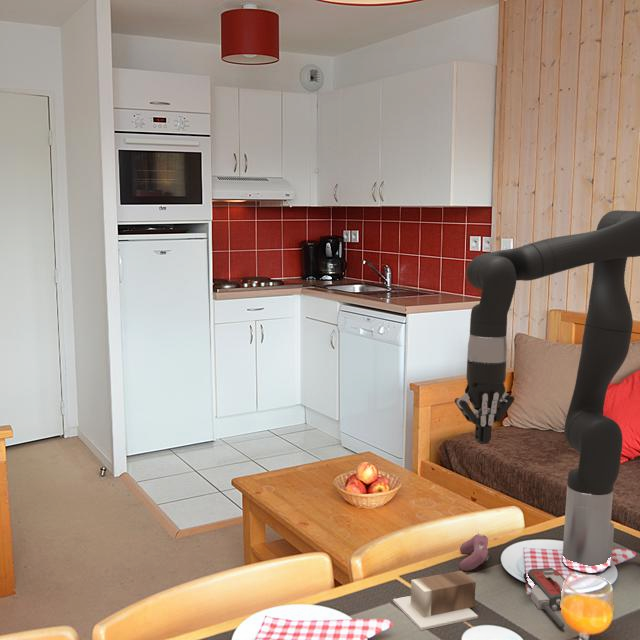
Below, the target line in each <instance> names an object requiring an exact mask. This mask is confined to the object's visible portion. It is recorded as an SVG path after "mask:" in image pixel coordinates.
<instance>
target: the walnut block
mask: <svg viewBox="0 0 640 640" xmlns="http://www.w3.org/2000/svg"><path fill="white" fill-rule="evenodd" d="M476 583H477V582H476V581H475V580H474V579H472V578H471V577H470V576H469V575H468V574H467V573H466V572H465V571H463V570H457V571H452V572H446V573H442V574H441V573H440V574H435V575H429V576H425V577H420V578H415V579H411V583H410V596H411V605H412V606H413V607H414V608H415V609H416V610H417V611H418V612H419V613H420V614H421V615H422V616H423V617H428V616H433V615H437V614H442V613H447V612H452V611H457V610H462V609H466V608H470V609H471V608H475V606H476V605H475V604H476V603H475V602H476V601H475V600H476V588H477V585H476Z"/></svg>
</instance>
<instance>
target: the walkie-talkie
mask: <svg viewBox="0 0 640 640" xmlns="http://www.w3.org/2000/svg"><path fill="white" fill-rule="evenodd" d="M526 573H528V576H529V578H530V579H531V580H532V581H533V582H534V584H535V585H534V587H533V588H532V589H531V590H530V592H531V593H530V600H531V601H532V602H533V603H534V605H535V606H536V608H537V609H538V610H544V611H545V612H546V613H547V614H548V615H549V616H550V617H551V619H552V620H553V621H554V622H556V623H557V625H558V626H559V627H560V628H562V629H563V628H565V626H566V625H565V623H564V622H563V621H562V619H561V618H560V617H559V616H558V615H557V614H556V612H555V611H557V610H561V609H560V601H561V591H562V585H563V582H564V580H565V579H566V578H565V577H564V576H563V575H562V574H561V573H560V572H559V571H558V570H556V569H554V568H552V567H544V568H531V569H530V570H528V572H525V573H523V579H524V580H525V579H527V578H528V577H526Z"/></svg>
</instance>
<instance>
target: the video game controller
mask: <svg viewBox="0 0 640 640" xmlns="http://www.w3.org/2000/svg"><path fill="white" fill-rule="evenodd" d="M488 546H489V538H488V537H487V536H486V535H484V534H480V533H479V532H478V533H477V534H475V535H474V536H473V537H472V538H470V539H468V540H467V541H465V542H463V543H462V544H461V545H460V548H459V552H460V553H461V554H464V555H467V554H470V555H468V556H467V557H465V558H464V559H462V560H461V561H460V562H459V565H458V566H459V567H458V568H459V569H460V571H463V572H467V571H472V570H473V569H476V568H477V567H479V566H480V565H482V564H483V563H484V562H486V561H488V560H489V555H488V553H489V549H488Z"/></svg>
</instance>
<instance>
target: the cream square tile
mask: <svg viewBox="0 0 640 640" xmlns="http://www.w3.org/2000/svg"><path fill="white" fill-rule="evenodd" d="M392 603H394V604H395V606H397V607H398V609H399V610H400V611H402V613H403V614H405V616H406V617H408V619H409V620H410V622H411V621H412V623H413V624H414V625H415V626H416V627H417V628H418V630H420V631H424V630H428V629H433V628H440V627H442V626H443V627H444V626H447V625H453V624H458V623H463V622H466V621H467V622H468V621H473V620H476V619H479V615H478V614H477V613H476V612H474V611H473V610H472V609H471V608H466V609H462V610H457V611H452V612H447V613H442V614H437V615H433V616H428V617H423V616H422V615H421V614H420V613H419V612H418V611H417V610H416V609H415V608H414V607H413V606H412V605H411V595H409V596H408V595H407V596H402V597H398V598H393V599H392Z"/></svg>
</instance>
